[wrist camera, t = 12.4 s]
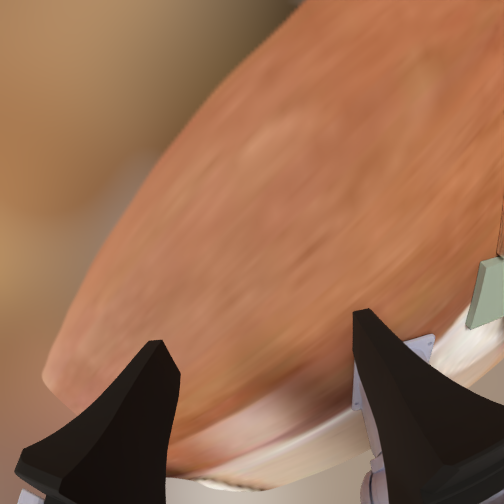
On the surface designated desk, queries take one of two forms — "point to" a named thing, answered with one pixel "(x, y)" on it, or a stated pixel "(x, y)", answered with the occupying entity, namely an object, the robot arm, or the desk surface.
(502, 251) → the beige flat handled piece
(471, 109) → the desk surface
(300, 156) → the desk surface
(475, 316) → the pad
